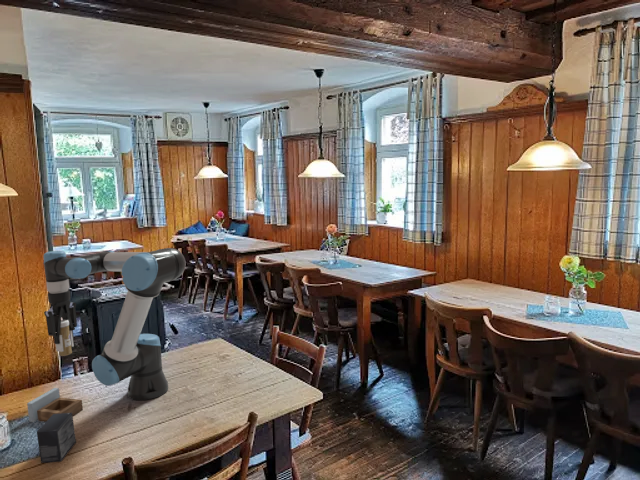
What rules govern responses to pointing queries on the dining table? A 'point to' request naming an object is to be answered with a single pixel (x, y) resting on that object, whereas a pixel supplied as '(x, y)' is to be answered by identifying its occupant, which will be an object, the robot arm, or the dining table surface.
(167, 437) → the dining table surface
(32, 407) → the board
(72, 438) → the small box
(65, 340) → the sprinkles bottle
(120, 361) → the robot arm
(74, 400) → the socket block
